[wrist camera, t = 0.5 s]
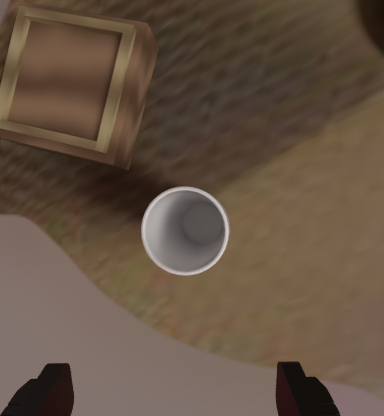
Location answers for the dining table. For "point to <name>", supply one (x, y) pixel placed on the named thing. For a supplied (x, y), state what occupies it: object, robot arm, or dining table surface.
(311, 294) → the dining table surface
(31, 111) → the wooden box
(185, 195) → the drinking glass
